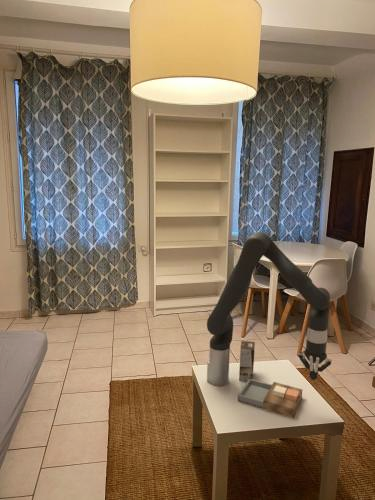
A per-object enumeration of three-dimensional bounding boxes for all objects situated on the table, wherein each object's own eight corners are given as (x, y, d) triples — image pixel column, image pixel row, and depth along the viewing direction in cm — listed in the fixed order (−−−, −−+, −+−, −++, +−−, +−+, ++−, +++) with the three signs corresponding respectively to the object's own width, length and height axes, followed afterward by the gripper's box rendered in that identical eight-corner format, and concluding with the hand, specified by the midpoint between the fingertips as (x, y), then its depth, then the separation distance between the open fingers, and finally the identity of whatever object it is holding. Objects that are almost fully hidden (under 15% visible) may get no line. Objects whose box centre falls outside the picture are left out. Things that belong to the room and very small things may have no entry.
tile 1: (273, 394, 161) (273, 390, 161) (276, 389, 165) (276, 385, 165) (283, 397, 159) (284, 393, 159) (286, 392, 163) (286, 388, 163)
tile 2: (285, 398, 159) (285, 393, 159) (287, 392, 163) (288, 388, 163) (296, 401, 157) (296, 396, 157) (298, 395, 161) (298, 391, 161)
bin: (237, 401, 163) (237, 394, 163) (249, 384, 176) (249, 378, 176) (262, 408, 158) (263, 402, 158) (272, 391, 171) (273, 384, 171)
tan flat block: (262, 408, 158) (263, 400, 158) (273, 389, 172) (273, 381, 171) (293, 418, 153) (294, 409, 152) (301, 397, 167) (302, 389, 166)
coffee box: (252, 382, 178) (254, 350, 175) (238, 380, 179) (240, 348, 176) (253, 372, 187) (255, 341, 184) (239, 370, 188) (241, 340, 185)
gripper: (297, 338, 151) (294, 379, 154) (333, 346, 145) (329, 387, 148) (301, 331, 157) (298, 370, 161) (335, 338, 151) (332, 378, 155)
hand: (313, 378), depth 154 cm, fingers closed
